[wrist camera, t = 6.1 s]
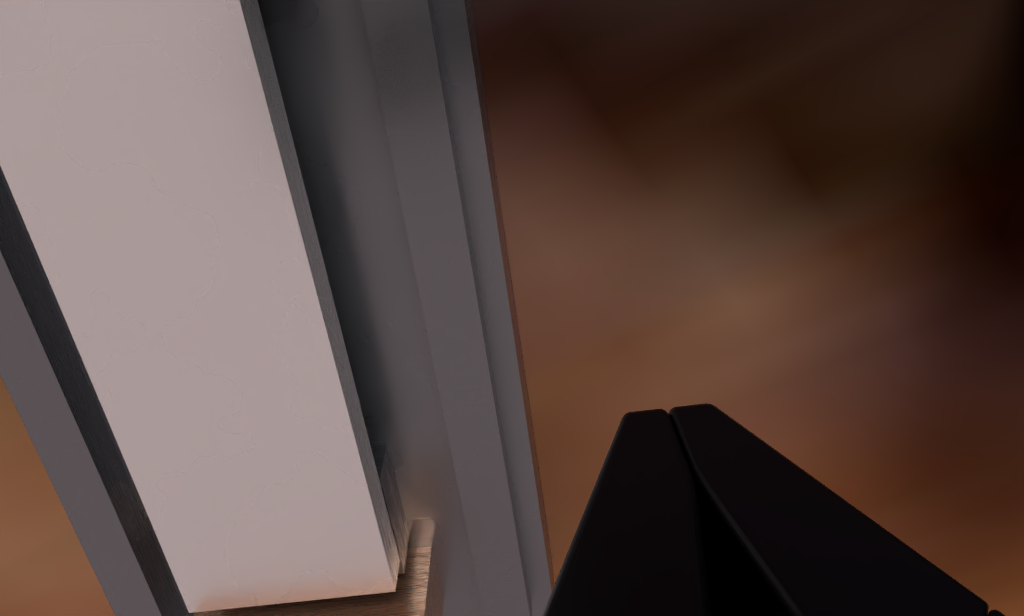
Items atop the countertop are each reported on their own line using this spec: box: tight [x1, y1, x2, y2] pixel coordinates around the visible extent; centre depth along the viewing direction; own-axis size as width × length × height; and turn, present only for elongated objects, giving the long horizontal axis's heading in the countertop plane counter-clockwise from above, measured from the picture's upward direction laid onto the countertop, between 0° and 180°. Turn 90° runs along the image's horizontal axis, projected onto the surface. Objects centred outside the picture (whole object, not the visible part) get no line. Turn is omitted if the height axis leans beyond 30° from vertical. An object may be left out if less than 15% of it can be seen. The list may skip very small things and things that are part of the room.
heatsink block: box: [0, 0, 554, 616], centre depth 18 cm, size 12×24×6 cm, turn 7°
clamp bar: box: [0, 0, 400, 613], centre depth 17 cm, size 5×17×2 cm, turn 8°
